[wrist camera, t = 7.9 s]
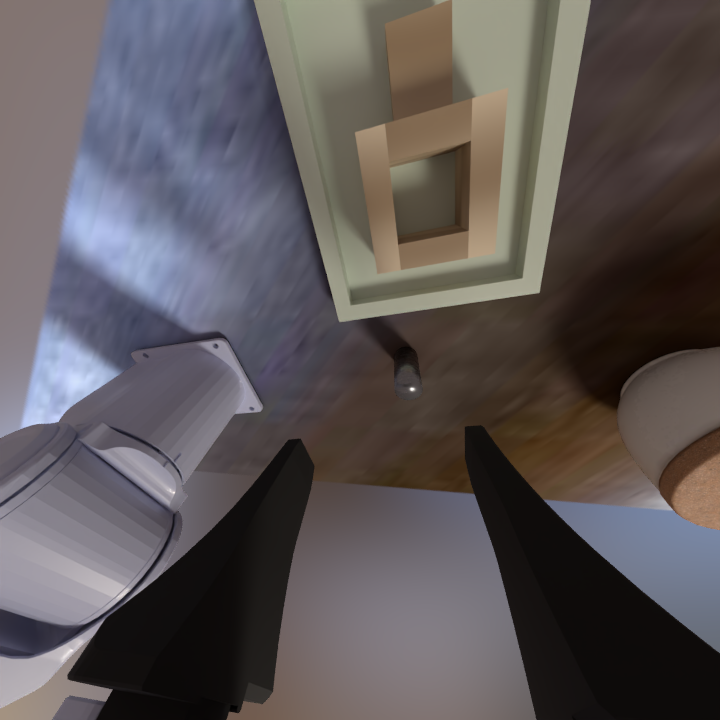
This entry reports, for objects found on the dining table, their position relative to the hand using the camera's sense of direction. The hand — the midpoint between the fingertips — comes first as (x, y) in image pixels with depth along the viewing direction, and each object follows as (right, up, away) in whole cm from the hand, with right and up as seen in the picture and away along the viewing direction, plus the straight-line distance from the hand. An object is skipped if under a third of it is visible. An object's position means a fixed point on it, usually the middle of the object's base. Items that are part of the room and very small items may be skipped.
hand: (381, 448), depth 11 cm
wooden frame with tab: (+2, +14, +1) cm, 14 cm away
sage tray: (+2, +14, +2) cm, 15 cm away
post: (+3, +4, +9) cm, 10 cm away
